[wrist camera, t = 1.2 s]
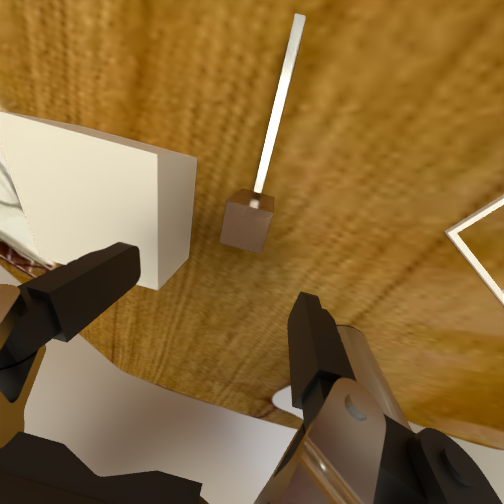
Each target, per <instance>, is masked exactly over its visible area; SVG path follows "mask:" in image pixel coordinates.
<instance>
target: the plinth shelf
mask: <svg viewBox="0 0 504 504" xmlns="http://www.w3.org/2000/svg"><path fill="white" fill-rule="evenodd" d="M0 147H1V150H2V152H3V155H4V158H5V161H6V164H7V166H8V169H9V172H10V175H11V178H12V180H13V183H14V186H15V189H16V192H17V194H18V197H19V200H20V203H21V206H22V208H23V211H24V214H25V217H26V220H27V222H28V225H29V228H30V231H31V233H32V236H33V239H34V242H35V245H36V247H37V250H38V253H39V256H40V258H43V259H46V260H50V261H53V262H57V263H61V264H64V265H67V263H68V262H71V261H73V260H75V259H76V260H77V259H78V258H79V257H81V256H83V255H86V254H88V253H90V252H93V251H97V250H101V249H105V248H107V247H109V246H111V245H113V244H115V243H117V242H123V243H127V244H131V245H134V246H137V247H138V248H139V250H140V265H141V276H140V279H139V281H138V282H137V284H136V285H140V286H144V287H147V288H151V289H154V290H159V289H160V288H161V287H162V286H163V285H164V284H165V283H166V282H167V280H168V279H169V278H170V277H171V276H172V275H173V274H174V273H175V272H176V271H177V270H178V269H179V268H180V267H181V266H182V265H183V263H184V262H185V261H186V260H187V259H188V258H189V251H190V239H191V228H192V216H193V205H194V194H195V182H196V171H197V159H198V158H197V157H194V156H190V155H186V154H183V153H179V152H175V151H172V150H168V149H164V148H161V147H157V146H153V145H150V144H146V143H142V142H139V141H135V140H131V139H128V138H124V137H120V136H117V135H113V134H109V133H106V132H102V131H98V130H95V129H91V128H87V127H83V126H78V125H73V124H68V123H63V122H58V121H52V120H47V119H42V118H37V117H32V116H27V115H22V114H16V113H11V112H6V111H1V110H0Z"/></svg>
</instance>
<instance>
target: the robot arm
mask: <svg viewBox="0 0 504 504" xmlns="http://www.w3.org/2000/svg"><path fill="white" fill-rule="evenodd" d="M140 276H141V265H140V250H139V248H138V247H137V246H134V245H131V244H127V243H123V242H117V243H115V244H113V245H111V246H109V247H107V248H105V249H101V250H97V251H93V252H90V253H88V254H86V255H83V256H81V257H79V258H78V259H77V260H76V259H75V260H73V261H71V262H68V263H67V265H62V266H60V267H58V268H56V269H54V270H51V271H49V272H47V273H45V274H43V275H41V276H39V277H36V278H34V279H32V280H30V281H28V282H26V283H24V284H21V285H19V286H17V287H16V286H13V285H8V284H0V504H209V503H208V502H207V501H205V500H204V499H203V498H202V497H201V496H200V492H201V487H202V483H199V482H195V481H192V480H188V479H185V478H181V477H178V476H174V475H171V474H167V473H164V472H160V471H149V472H141V473H133V474H125V475H116V476H107V477H100V476H97V475H96V474H94V473H93V472H92V471H91V470H90V469H89V468H88V467H87V466H86V465H85V464H84V463H83V462H82V461H81V460H80V459H79V458H78V457H76V455H75V454H74V453H73V452H71V451H70V450H69V449H68V448H67V447H66V446H65V445H64V444H62V443H59V442H55V441H51V440H48V439H44V438H41V437H38V436H34V435H31V434H27V433H24V408H25V405H26V402H27V399H28V397H29V394H30V391H31V389H32V386H33V384H34V381H35V378H36V375H37V373H38V370H39V368H40V365H41V362H42V360H43V357H44V354H45V352H46V346H45V344H46V343H47V342H48V341H50V340H51V339H52V338H53V339H57V340H60V341H64V342H68V341H69V340H71V339H72V338H73V337H74V336H75V335H77V334H78V333H79V332H80V331H81V330H83V329H84V328H85V327H86V326H87V325H89V324H90V323H91V322H92V321H93V320H94V319H96V318H97V317H98V316H99V315H100V314H102V313H103V312H104V311H105V310H106V309H107V308H109V307H110V306H111V305H112V304H113V303H115V302H116V301H117V300H118V299H119V298H120V297H122V296H123V295H124V294H125V293H126V292H128V291H129V290H130V289H131V288H132V287H133V286H135V285H136V284H137V282H138V281H139V279H140ZM288 344H289V360H290V377H291V391H292V392H291V393H292V406H293V407H295V408H299V409H302V410H303V418H304V421H303V422H302V423H301V425H300V427H299V428H298V430H297V432H296V434H295V435H294V437H293V439H292V441H291V442H290V444H289V446H288V448H287V450H286V451H285V453H284V455H283V457H282V458H281V460H280V462H279V463H278V465H277V467H276V469H275V470H274V472H273V474H272V476H271V477H270V479H269V481H268V482H267V484H266V485H265V487H264V488H263V490H262V491H261V493H260V494H259V496H258V497H257V499H256V501H255V502H254V504H502V502H501V500H500V499H499V497H498V496H497V494H496V493H495V491H494V489H493V488H492V486H491V485H490V483H489V482H488V480H487V479H486V477H485V475H484V474H483V473H482V471H481V470H480V468H479V467H478V466H477V464H476V463H475V462H474V461H473V459H472V458H471V457H470V456H469V455H468V454H467V453H466V452H465V451H464V450H463V449H462V448H461V447H460V446H459V445H458V444H457V443H456V442H454V441H453V440H452V439H451V438H450V437H448V436H447V435H445V434H444V433H442V432H440V431H438V430H436V429H432V428H425V429H423V430H421V431H420V432H419V433H417V434H416V433H414V432H413V431H412V430H411V428H410V426H409V424H408V422H407V420H406V418H405V416H404V414H403V412H402V410H401V408H400V406H399V404H398V402H397V400H396V398H395V396H394V394H393V392H392V390H391V388H390V386H389V384H388V382H387V380H386V378H385V376H384V374H383V372H382V370H381V368H380V366H379V364H378V362H377V360H376V358H375V356H374V354H373V352H372V350H371V348H370V346H369V344H368V342H367V340H366V338H365V337H364V335H363V334H362V333H361V332H360V331H358V330H356V329H354V328H351V327H348V326H336V323H335V320H334V319H333V317H332V316H331V315H330V313H329V312H328V311H327V310H326V309H322V307H321V304H320V301H319V298H318V296H316V295H312V294H308V293H305V292H300V294H299V296H298V298H297V300H296V302H295V304H294V306H293V309H292V311H291V313H290V315H289V319H288Z"/></svg>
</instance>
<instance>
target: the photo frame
mask: <svg viewBox="0 0 504 504" xmlns="http://www.w3.org/2000/svg"><path fill="white" fill-rule="evenodd" d="M502 205H504V194H503V195H502V196H500V197H498V198H497V199H495V200H494V201H492V202H491V203H489V204H487V205H486V206H484V207H483V208H481V209H479V210H478V211H476V212H475V213H473V214H471V215H470V216H468V217H467V218H465V219H463V220H462V221H460V222H459V223H457V224H456V225H454V226H452V227H451V228H449V229H448V230H446V231H444V232H445V234H446V235H447V236H448V237H449V239H450V240H451V241H452V242H453V244H454V245H455V246H456V247H457V249H458V250H459V251H460V252H461V254H462V255H463V256H464V257H465V259H466V260H467V261H468V262H469V264H470V265H471V266H472V267H473V269H474V270H475V271H476V272H477V274H478V275H479V276H480V277H481V279H482V280H483V281H484V282H485V284H486V285H487V286H488V287H489V289H490V290H491V291H492V292H493V294H494V295H495V296H496V297H497V299H498V300H499V301H500V302H501V304H502V305H503V306H504V290H502V291H501V290H500V288H499V287H498V286H497V284H496V283H495V282H494V281H493V279H492V278H491V277H490V275H489V274H488V273H487V272H486V270H485V269H484V268H483V266H482V265H481V264H480V263H479V261H478V260H477V259H476V258H475V256H474V255H473V254H472V252H471V251H470V250H469V249H468V247H467V246H466V245H465V243H464V242H463V241H462V240H461V238H460V237H459V236H458V234H457V233H458V232H459V231H461V230H463V229H464V228H466V227H468V226H469V225H471V224H473V223H474V222H476V221H478V220H479V219H481V218H482V217H484V216H486V215H487V214H489V213H491V212H492V211H494V210H496V209H497V208H499V207H500V206H502Z"/></svg>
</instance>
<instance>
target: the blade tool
mask: <svg viewBox="0 0 504 504" xmlns="http://www.w3.org/2000/svg"><path fill="white" fill-rule="evenodd" d="M305 18H306V16H304V15H300V14H296V13H295V18H294V22H293V26H292V30H291V35H290V39H289V43H288V47H287V52H286V56H285V60H284V64H283V69H282V73H281V77H280V81H279V86H278V90H277V94H276V98H275V103H274V107H273V111H272V115H271V120H270V124H269V128H268V132H267V137H266V141H265V145H264V150H263V154H262V158H261V162H260V167H259V171H258V175H257V179H256V184H255V188H254V192H253V191H250V190H246V189H242V190H241V191H239V192H238V193H236V194H235V195H234V196H232V197H231V198H229V199H228V200H227V202H226V208H225V214H224V220H223V225H222V231H221V237H220V243H222V244H226V245H229V246H233V247H237V248H240V249H244V250H248V251H251V252H255V253H259V254H261V252H262V248H263V245H264V242H265V238H266V235H267V232H268V228H269V225H270V222H271V218H272V215H273V208H274V197H272V196H268V195H264V194H261V192H262V190H263V187H264V183H265V179H266V176H267V172H268V168H269V164H270V160H271V156H272V152H273V148H274V144H275V141H276V137H277V133H278V129H279V125H280V121H281V117H282V113H283V109H284V105H285V102H286V98H287V94H288V90H289V86H290V82H291V78H292V74H293V70H294V67H295V63H296V59H297V55H298V51H299V47H300V43H301V39H302V34H303V29H304V23H305ZM257 192H258V193H257Z"/></svg>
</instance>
